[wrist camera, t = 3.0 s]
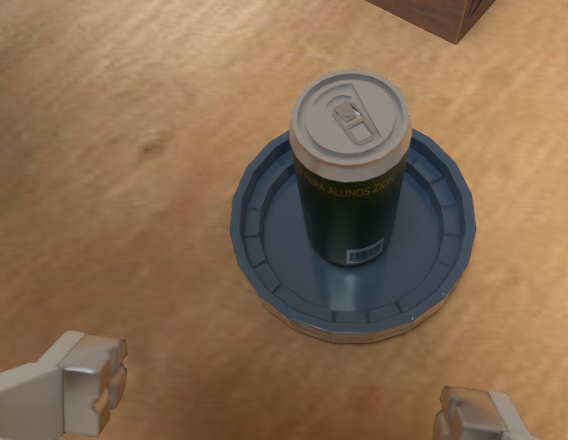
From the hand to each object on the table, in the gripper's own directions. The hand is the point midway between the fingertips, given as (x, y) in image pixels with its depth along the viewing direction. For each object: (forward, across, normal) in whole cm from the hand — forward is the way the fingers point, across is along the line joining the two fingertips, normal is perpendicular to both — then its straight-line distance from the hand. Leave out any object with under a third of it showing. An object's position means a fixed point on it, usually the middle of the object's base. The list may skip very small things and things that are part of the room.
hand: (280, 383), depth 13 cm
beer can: (+20, -3, +2) cm, 20 cm away
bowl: (+20, -3, +2) cm, 20 cm away
